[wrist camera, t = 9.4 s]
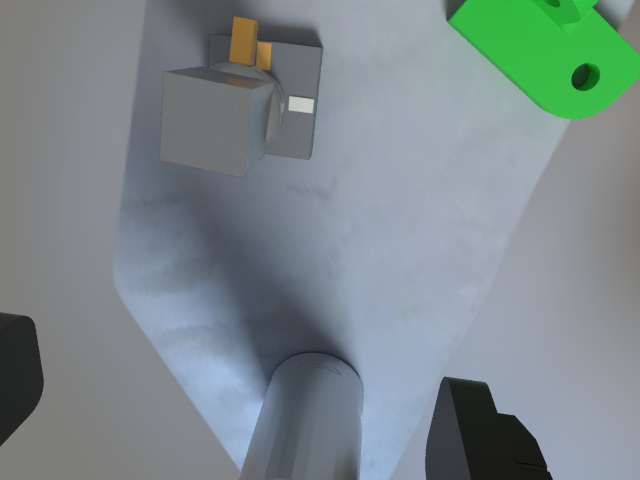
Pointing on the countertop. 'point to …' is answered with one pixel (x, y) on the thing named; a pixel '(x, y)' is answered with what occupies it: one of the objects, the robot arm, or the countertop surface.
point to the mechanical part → (551, 51)
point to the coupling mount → (285, 88)
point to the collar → (221, 110)
